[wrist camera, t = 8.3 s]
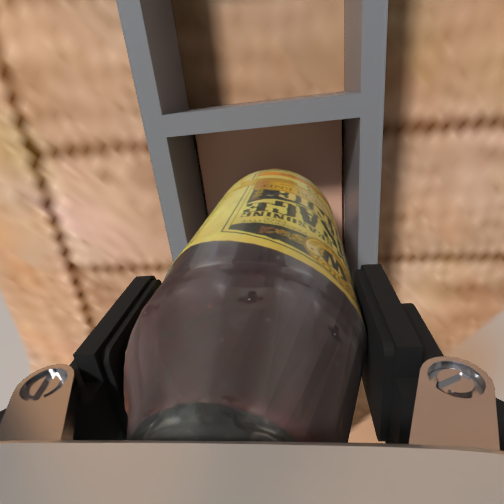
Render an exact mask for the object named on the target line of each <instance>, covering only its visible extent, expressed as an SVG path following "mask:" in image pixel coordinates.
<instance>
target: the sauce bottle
mask: <svg viewBox="0 0 504 504" xmlns="http://www.w3.org/2000/svg"><path fill="white" fill-rule="evenodd" d="M367 348H368V344H367V333H366V329H365V325H364V321H363V317H362V313H361V308H360V304H359V303H358V300H357V294H356V292H355V290H354V286H353V282H352V279H351V275H350V271H349V266H348V263H347V259H346V256H345V253H344V249H343V245H342V241H341V239H340V237H339V233H338V230H337V226H336V223H335V220H334V216H333V213H332V210H331V207H330V205H329V203H328V201H327V199H326V197H325V196H324V195H323V193H322V192H321V191H320V190H319V188H318V187H317V186H316V185H315V184H314V183H312V182H311V181H310V180H308V179H306V178H305V177H303V176H301V175H299V174H297V173H294V172H291V171H288V170H286V169H282V168H273V169H270V170H262V171H257V172H254V173H252V174H249V175H247V176H245V177H244V178H242V179H241V180H239V181H238V182H236V183H235V184H234V185H233V186H232V187H231V188H230V189H229V190H228V191H227V193H226V194H225V195H224V196H223V198H222V199H221V200H220V202H219V203H218V205H217V206H216V207H215V209H214V210H213V211H212V213H211V214H210V215H209V217H208V218H207V219H206V221H205V222H204V223H203V225H202V226H201V227H200V229H199V230H198V231H197V233H196V234H195V235H194V237H193V238H192V239H191V240H190V242H189V243H188V244H187V245H186V247H185V248H184V249H183V251H182V252H181V253H180V254H179V256H178V257H177V258H176V260H175V261H174V262H173V264H172V265H171V267H170V269H169V270H168V272H167V274H166V277H165V279H164V281H163V283H162V284H161V285H160V286H159V288H158V289H157V290H156V291H155V293H154V294H153V296H152V297H151V299H150V300H149V301H148V302H147V304H146V305H145V306H144V308H143V309H142V311H141V313H140V315H139V317H138V320H137V322H136V324H135V326H134V328H133V330H132V333H131V336H130V339H129V342H128V346H127V349H126V351H125V364H124V383H123V385H124V404H125V411H126V413H127V415H128V425H127V438H126V440H154V441H265V442H334V443H348V438H349V434H350V429H351V424H352V419H353V414H354V410H355V405H356V400H357V395H358V391H359V386H360V381H361V376H362V372H363V367H364V362H365V357H366V352H367Z"/></svg>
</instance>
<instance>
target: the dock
mask: <svg viewBox="0 0 504 504" xmlns="http://www.w3.org/2000/svg"><path fill="white" fill-rule="evenodd" d="M116 2H117V7H118V11H119V16H120V20H121V25H122V30H123V34H124V39H125V43H126V48H127V53H128V57H129V62H130V66H131V71H132V75H133V80H134V85H135V89H136V94H137V98H138V103H139V107H140V112H141V117H142V121H143V126H144V130H145V135H146V140H147V144H148V149H149V153H150V158H151V162H152V167H153V172H154V176H155V181H156V185H157V190H158V195H159V199H160V204H161V208H162V213H163V217H164V222H165V227H166V231H167V236H168V240H169V245H170V250H171V254H172V259H173V262H174V261H175V260H176V258H177V257H178V256H179V254H180V253H181V252H182V251H183V249H184V248H185V247H186V245H187V244H188V243H189V242H190V240H191V239H192V238H193V237H194V235H195V234H196V233H197V231H198V230H199V229H200V227H201V226H202V225H203V223H204V222H205V221H206V219H207V214H206V208H205V202H204V196H203V190H202V184H201V178H200V172H199V166H198V160H197V154H196V148H195V142H194V136H193V135H194V134H195V136H196V142H197V148H198V154H199V160H200V167H201V173H202V179H203V185H204V191H205V197H206V203H207V209H208V215H210V214H211V213H212V211H213V210H214V209H215V207H216V206H217V205H218V203H219V202H220V200H221V199H222V198H223V196H224V195H225V194H226V193H227V191H228V190H229V189H230V188H231V187H232V186H233V185H234V184H235V183H236V182H238V181H239V180H241V179H242V178H244V177H245V176H247V175H249V174H252V173H254V172H257V171H262V170H270V169H273V168H282V169H286V170H288V171H291V172H294V173H297V174H299V175H301V176H303V177H305V178H306V179H308V180H310V181H311V182H312V183H314V184H315V185H316V186H317V187H318V188H319V190H320V191H321V192H322V193H323V195H324V196H325V197H326V199H327V201H328V203H329V205H330V207H331V210H332V213H333V216H334V220H335V223H336V226H337V230H338V233H339V237H340V239H341V241H342V119H345V256H346V259H347V263H348V266H349V271H350V275H351V279H352V282H353V286H354V274H355V270H357V269H361V265H367V264H378V240H379V215H380V191H381V166H382V142H383V118H384V93H385V69H386V44H387V20H388V0H344V89H345V92H336V93H328V94H319V95H310V96H301V97H292V98H283V99H274V100H266V101H257V102H248V103H239V104H230V105H221V106H213V107H204V108H195V109H189V106H188V100H187V94H186V88H185V82H184V76H183V70H182V64H181V58H180V52H179V45H178V39H177V33H176V27H175V21H174V15H173V9H172V3H171V0H116Z"/></svg>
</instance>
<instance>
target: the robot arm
mask: <svg viewBox="0 0 504 504" xmlns="http://www.w3.org/2000/svg"><path fill="white" fill-rule="evenodd" d="M161 284H162V283H161V281H160V280H156V278H155V277H154V276H139V277H136V278H135V279H134V280H133V281H132V282H131V283H130V285H129V286H128V287H127V288H126V290H125V291H124V292H123V293H122V295H121V296H120V297H119V298H118V300H117V301H116V302H115V303H114V305H113V306H112V307H111V308H110V310H109V311H108V312H107V313H106V315H105V316H104V317H103V318H102V320H101V321H100V322H99V323H98V325H97V326H96V327H95V328H94V330H93V331H92V332H91V333H90V335H89V336H88V337H87V338H86V339H85V341H84V342H83V343H82V344H81V346H80V347H79V348H78V349H77V351H76V352H75V353H74V354H73V356H74V360H73V362H72V363H71V364H70V365H69V366H68V365H66V364H56V365H51V366H47V367H44V368H42V369H39V370H37V371H36V372H34V373H32V374H30V375H29V376H28V377H26V378H25V379H23V380H22V381H21V382H20V383H19V384H18V385H17V387H16V389H15V390H14V392H13V394H12V396H11V399H10V401H9V404H8V406H7V408H6V409H4V410H2V411H0V504H504V402H503V401H501V400H499V399H497V398H495V387H494V384H493V381H492V379H491V378H490V377H489V376H488V374H487V373H486V372H485V371H483V370H482V369H481V368H479V367H478V366H477V365H475V364H472V363H471V362H469V361H466V360H462V359H459V358H455V357H448V356H443V354H442V352H441V351H440V349H439V347H438V345H437V344H436V342H435V340H434V338H433V337H432V335H431V333H430V331H429V330H428V328H427V326H426V324H425V323H424V321H423V319H422V318H421V316H420V314H419V312H418V311H417V309H416V307H415V306H414V305H413V304H412V303H404V304H401V303H400V301H399V299H398V297H397V295H396V293H395V291H394V289H393V287H392V285H391V283H390V281H389V280H388V278H387V276H386V274H385V272H384V270H383V268H382V266H381V264H367V265H361V269H357V270H355V274H354V290H355V292H356V294H357V300H358V303H359V304H360V308H361V313H362V317H363V321H364V325H365V329H366V333H367V344H368V348H367V352H366V357H365V362H364V367H363V372H362V380H363V384H364V388H365V392H366V396H367V400H368V404H369V408H370V412H371V416H372V420H373V424H374V427H375V432H376V436H377V439H378V441H385V442H386V444H383V443H334V442H265V441H154V440H126V438H127V425H128V415H127V413H126V411H125V404H124V385H123V383H124V364H125V351H126V349H127V346H128V342H129V339H130V336H131V333H132V330H133V328H134V326H135V324H136V322H137V320H138V317H139V315H140V313H141V311H142V309H143V308H144V306H145V305H146V304H147V302H148V301H149V300H150V299H151V297H152V296H153V294H154V293H155V291H156V290H157V289H158V288H159V286H160V285H161Z"/></svg>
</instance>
